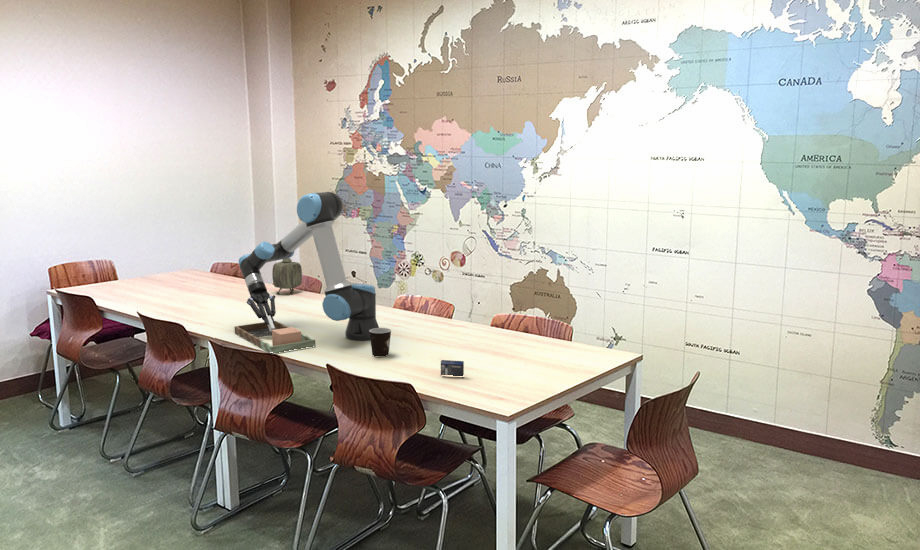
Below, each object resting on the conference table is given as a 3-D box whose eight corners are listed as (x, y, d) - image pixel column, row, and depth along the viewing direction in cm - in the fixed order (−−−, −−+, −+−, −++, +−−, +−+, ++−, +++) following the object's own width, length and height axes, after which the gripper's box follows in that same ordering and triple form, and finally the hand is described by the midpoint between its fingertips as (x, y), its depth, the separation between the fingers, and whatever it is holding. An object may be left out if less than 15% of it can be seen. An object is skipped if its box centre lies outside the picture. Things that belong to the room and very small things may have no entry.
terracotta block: (301, 347, 316) (301, 331, 315) (280, 351, 311) (280, 334, 310) (292, 343, 324) (292, 327, 322) (272, 346, 319) (271, 330, 317)
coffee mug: (382, 350, 312) (381, 326, 310) (395, 354, 306) (395, 330, 304) (359, 356, 304) (358, 331, 302) (372, 360, 298) (372, 335, 296)
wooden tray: (315, 346, 317) (315, 339, 317) (272, 354, 306) (271, 347, 306) (275, 327, 351) (275, 320, 350) (234, 333, 339) (234, 326, 339)
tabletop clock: (293, 290, 434) (291, 247, 430) (304, 292, 429) (302, 248, 425) (273, 294, 423) (271, 250, 418) (284, 296, 417) (282, 251, 413)
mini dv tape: (440, 377, 278) (440, 361, 277) (441, 375, 279) (441, 360, 278) (463, 378, 276) (463, 362, 275) (463, 377, 278) (463, 361, 277)
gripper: (267, 289, 345) (284, 332, 335) (239, 292, 337) (255, 336, 327) (272, 279, 340) (289, 322, 330) (243, 282, 332) (260, 327, 322)
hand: (272, 329), depth 328 cm, fingers closed
